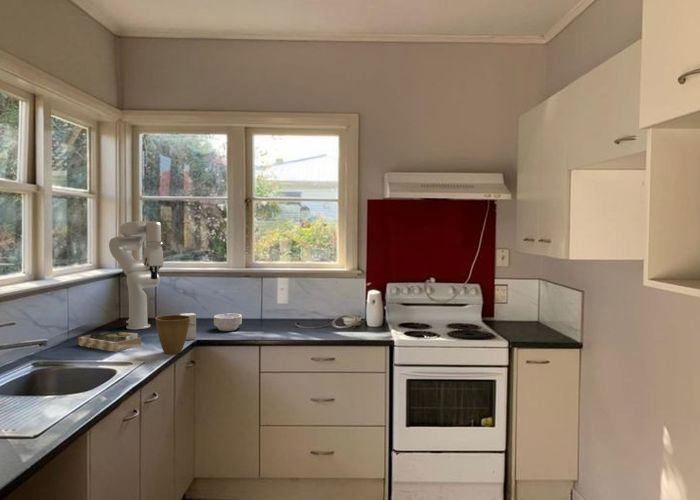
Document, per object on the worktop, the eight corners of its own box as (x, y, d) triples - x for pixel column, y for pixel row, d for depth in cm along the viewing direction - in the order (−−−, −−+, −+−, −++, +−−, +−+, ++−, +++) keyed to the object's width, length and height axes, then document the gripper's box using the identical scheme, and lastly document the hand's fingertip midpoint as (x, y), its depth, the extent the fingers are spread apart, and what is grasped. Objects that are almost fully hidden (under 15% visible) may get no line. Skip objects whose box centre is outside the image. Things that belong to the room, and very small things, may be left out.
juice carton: (140, 343, 248) (140, 331, 248) (128, 348, 238) (128, 335, 238) (103, 342, 251) (102, 330, 251) (89, 347, 242) (89, 334, 241)
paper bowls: (228, 333, 273) (228, 318, 272) (207, 330, 280) (207, 316, 280) (247, 328, 286) (247, 314, 286) (227, 326, 293) (227, 312, 293)
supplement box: (181, 340, 254) (181, 315, 254) (179, 337, 261) (178, 313, 260) (196, 339, 258) (196, 314, 257) (193, 336, 264) (193, 312, 264)
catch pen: (78, 345, 243) (78, 337, 243) (105, 339, 256) (104, 332, 256) (115, 351, 231) (115, 343, 231) (141, 345, 243) (141, 337, 243)
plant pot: (165, 358, 220) (165, 321, 219) (149, 352, 230) (149, 317, 229) (196, 352, 230) (196, 317, 230) (180, 347, 241) (180, 313, 240)
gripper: (159, 244, 280) (160, 277, 280) (137, 245, 266) (137, 279, 267) (169, 244, 276) (170, 278, 277) (147, 245, 263) (147, 280, 264)
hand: (154, 278), depth 272 cm, fingers closed
